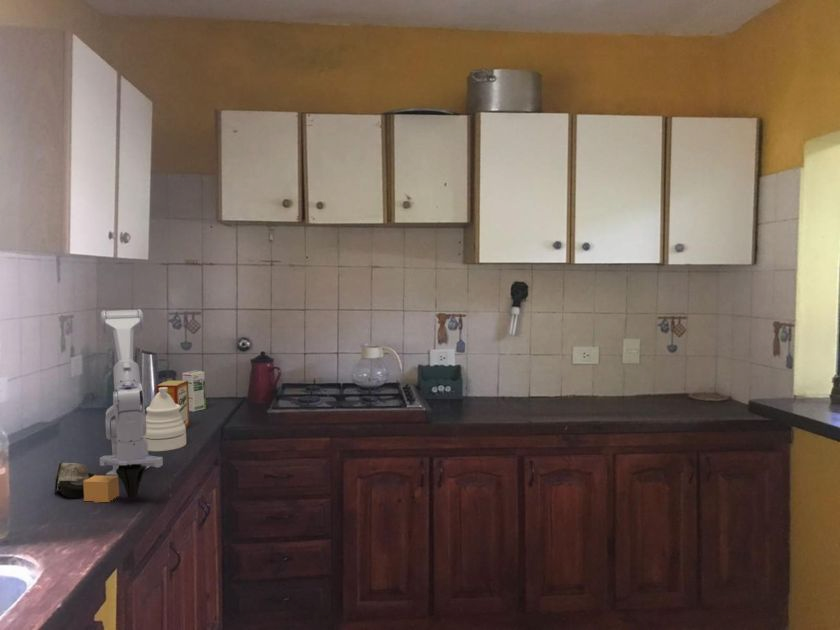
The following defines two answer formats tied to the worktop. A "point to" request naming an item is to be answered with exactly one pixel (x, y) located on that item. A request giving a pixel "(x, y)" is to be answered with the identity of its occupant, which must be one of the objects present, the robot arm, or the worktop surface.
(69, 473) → the caster wheel
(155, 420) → the honey pot
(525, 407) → the worktop surface
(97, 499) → the block
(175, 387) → the baking soda box
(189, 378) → the syrup box
